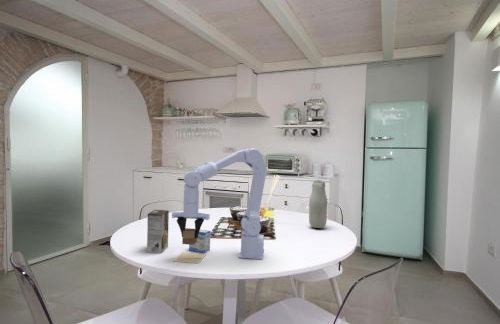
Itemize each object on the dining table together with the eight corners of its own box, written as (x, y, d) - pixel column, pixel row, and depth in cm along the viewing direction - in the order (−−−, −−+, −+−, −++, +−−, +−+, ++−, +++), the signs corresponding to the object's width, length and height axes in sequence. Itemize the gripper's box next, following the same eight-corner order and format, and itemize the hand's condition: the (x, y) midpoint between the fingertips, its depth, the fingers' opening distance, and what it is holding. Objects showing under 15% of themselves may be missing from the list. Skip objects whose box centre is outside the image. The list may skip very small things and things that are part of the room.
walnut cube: (193, 244, 115) (194, 231, 115) (182, 244, 116) (182, 231, 115) (197, 241, 120) (197, 228, 120) (186, 240, 120) (186, 228, 120)
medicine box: (188, 250, 128) (189, 230, 127) (194, 247, 132) (194, 228, 132) (205, 253, 125) (205, 232, 125) (210, 250, 129) (210, 230, 129)
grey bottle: (327, 227, 177) (329, 180, 177) (323, 231, 168) (325, 181, 167) (311, 225, 182) (313, 179, 181) (306, 228, 173) (308, 180, 172)
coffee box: (153, 246, 132) (154, 209, 132) (168, 246, 132) (169, 210, 132) (146, 252, 123) (147, 213, 123) (161, 253, 123) (162, 214, 123)
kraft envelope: (206, 254, 123) (206, 254, 123) (199, 263, 113) (199, 262, 113) (182, 253, 124) (182, 252, 124) (173, 261, 114) (173, 260, 114)
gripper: (211, 201, 120) (210, 235, 121) (176, 199, 122) (175, 233, 122) (207, 204, 113) (206, 240, 114) (170, 202, 115) (169, 237, 115)
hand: (190, 237), depth 118 cm, fingers closed on walnut cube, 4 cm apart
